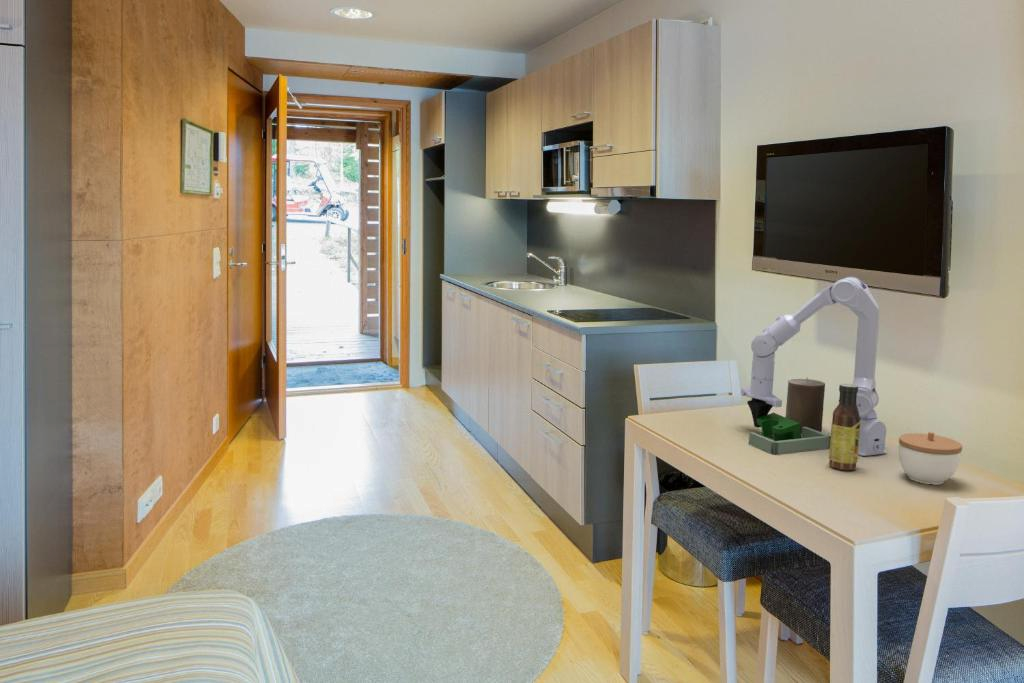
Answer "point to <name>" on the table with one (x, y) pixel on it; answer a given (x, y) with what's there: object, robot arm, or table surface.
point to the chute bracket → (792, 442)
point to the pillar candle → (805, 403)
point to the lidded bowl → (929, 457)
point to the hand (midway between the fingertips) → (758, 426)
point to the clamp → (779, 427)
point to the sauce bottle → (845, 430)
